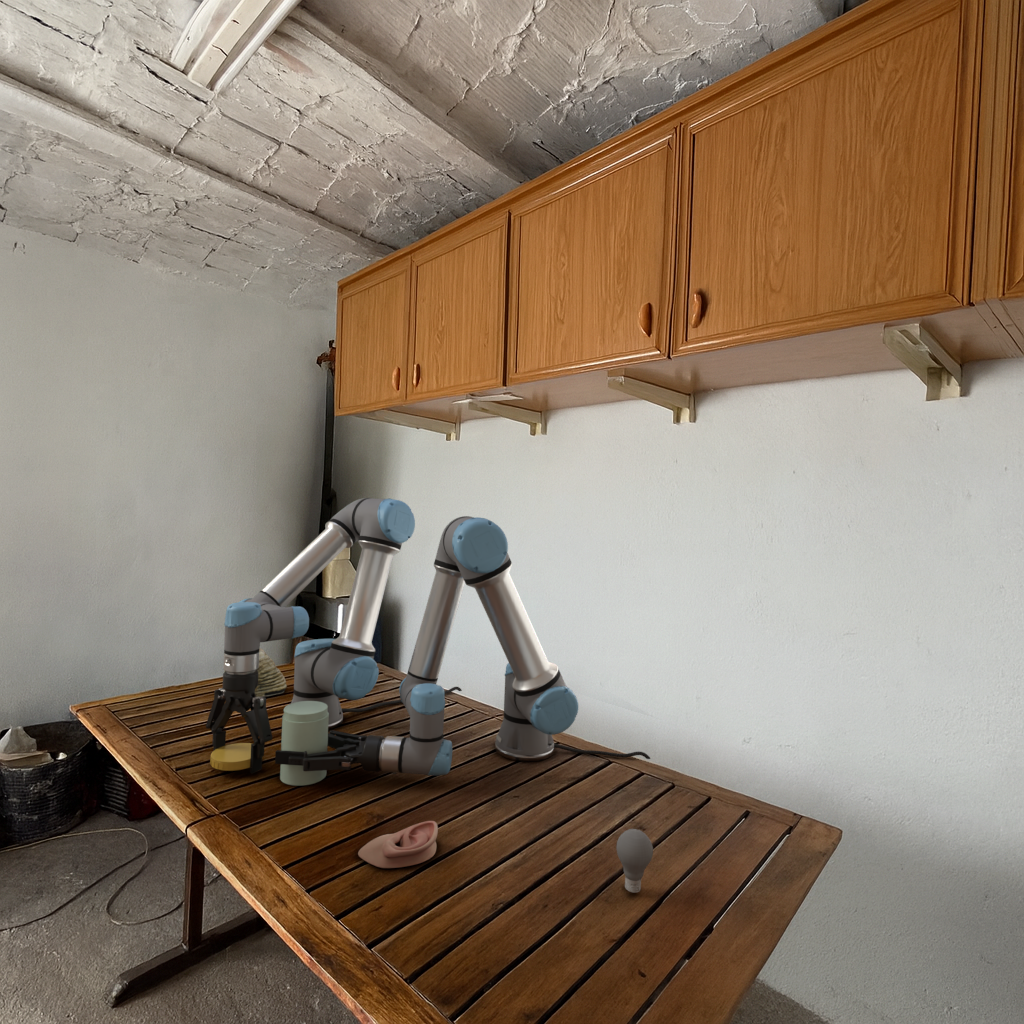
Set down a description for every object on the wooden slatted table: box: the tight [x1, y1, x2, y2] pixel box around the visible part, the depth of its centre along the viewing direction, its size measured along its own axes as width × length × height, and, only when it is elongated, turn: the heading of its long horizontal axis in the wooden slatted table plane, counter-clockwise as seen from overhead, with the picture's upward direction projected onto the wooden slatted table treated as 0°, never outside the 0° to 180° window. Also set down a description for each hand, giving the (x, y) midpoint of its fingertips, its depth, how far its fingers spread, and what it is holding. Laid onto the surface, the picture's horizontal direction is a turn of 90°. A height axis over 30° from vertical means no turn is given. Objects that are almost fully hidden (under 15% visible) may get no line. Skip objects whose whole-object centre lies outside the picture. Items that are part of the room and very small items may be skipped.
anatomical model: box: [357, 820, 439, 869], centre depth 114 cm, size 13×4×12 cm
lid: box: [209, 742, 264, 772], centre depth 145 cm, size 11×11×2 cm
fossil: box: [255, 647, 288, 697], centre depth 198 cm, size 9×18×15 cm, turn 132°
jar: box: [279, 701, 329, 786], centre depth 143 cm, size 10×10×16 cm
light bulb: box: [615, 828, 654, 894], centre depth 106 cm, size 6×6×10 cm
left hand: (237, 765), depth 146 cm, fingers closed on lid, 11 cm apart
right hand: (286, 747), depth 143 cm, fingers closed on jar, 10 cm apart
